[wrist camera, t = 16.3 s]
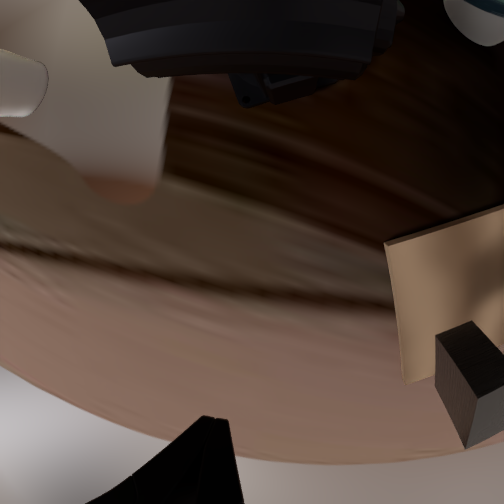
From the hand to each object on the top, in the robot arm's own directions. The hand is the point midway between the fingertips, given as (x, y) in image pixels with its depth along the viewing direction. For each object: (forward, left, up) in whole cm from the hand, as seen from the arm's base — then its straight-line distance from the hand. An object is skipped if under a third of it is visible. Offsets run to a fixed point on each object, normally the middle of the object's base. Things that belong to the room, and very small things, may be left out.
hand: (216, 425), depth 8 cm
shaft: (+6, +20, -7) cm, 22 cm away
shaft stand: (+6, +20, -13) cm, 25 cm away
